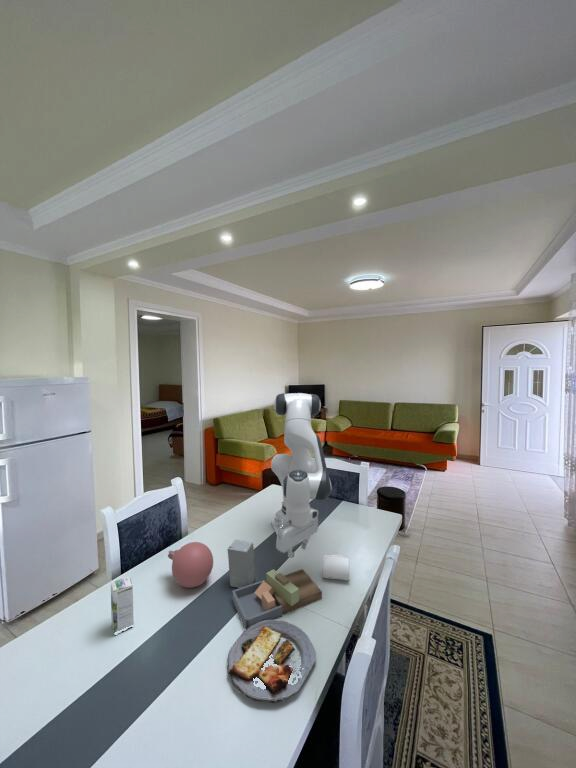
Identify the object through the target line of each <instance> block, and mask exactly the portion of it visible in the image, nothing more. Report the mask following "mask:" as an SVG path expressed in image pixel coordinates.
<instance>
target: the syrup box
mask: <svg viewBox="0 0 576 768" xmlns="http://www.w3.org/2000/svg"><path fill="white" fill-rule="evenodd" d="M132 582H133V581H132V579H131V577H130V576H124V577H122V578H118V579H117V580H114V581H112V582H110V605H111V606H110V609H111V611H110V613H111V627H112V626H113V629H112V631H113V630H114V633H115V632H117V631H120V630H122V629H124V628H126V627H129V626H131V625H133V624H134V623H135V622H134V590H133V586H134V585H133V583H132ZM114 633H113V634H114Z"/></svg>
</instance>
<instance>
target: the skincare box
mask: <svg viewBox="0 0 576 768" xmlns="http://www.w3.org/2000/svg"><path fill="white" fill-rule="evenodd" d="M227 559H228V571H229V573H228V574H229V586H230V587H233V588H236V589H239V588H242V587H245V586H248V585H251V584H254V583H255V581H256V577H257V576H256V563H255V547H254V542H253V541H245V540H241V539H234V541H233V542H232V543H231V544H230V545H229V547H227Z"/></svg>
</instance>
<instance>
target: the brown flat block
mask: <svg viewBox="0 0 576 768" xmlns="http://www.w3.org/2000/svg"><path fill="white" fill-rule="evenodd" d="M283 575H284V576H285V577H286V578H288V579H289V581H290V582H291V583H292V584H293V585H295V586H296V587H297V588H299V601H298V602H297V603H296V604H294V605H293V606H291V605H289V604H288V603H287V602H286V601H285V600H284V599H282V598H281V597H280V596H279V595H278V594H276V593H275V592H274V593H273V595H272V597H273V598H274V599H275V604H276V606H277V607H278V606H280V605H282V616H284V615H286V614H289V613H292V612H294V611H297V610H299V609H301V608H304V607H306V606H308V605H311V604H314V603H316V602H319V601H321V600H322V599H323V591H322V590H321V588H320V587H319V586H318V585H317V584H316V583H315V581H314V580H313V579H312V578H311V577H310V576H309V574H307V572H306V571H305V570H304V568H302V569H298V570H295V571H292V572H290V573H287V574H283Z"/></svg>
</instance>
